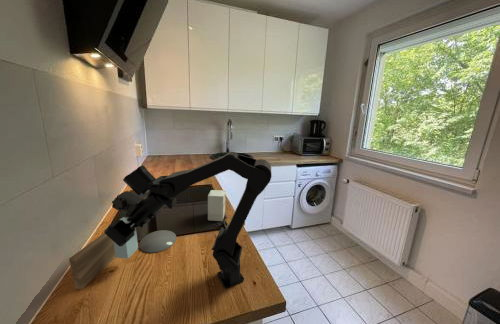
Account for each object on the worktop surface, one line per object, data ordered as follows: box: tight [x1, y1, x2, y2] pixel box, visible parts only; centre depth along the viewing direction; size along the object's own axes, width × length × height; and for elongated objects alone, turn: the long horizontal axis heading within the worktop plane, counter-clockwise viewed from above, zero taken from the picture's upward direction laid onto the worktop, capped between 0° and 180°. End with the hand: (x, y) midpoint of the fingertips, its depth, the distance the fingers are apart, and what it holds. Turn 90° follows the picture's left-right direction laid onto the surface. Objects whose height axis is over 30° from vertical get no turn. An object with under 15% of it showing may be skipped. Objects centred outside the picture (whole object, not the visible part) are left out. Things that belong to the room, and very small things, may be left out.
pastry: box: [223, 217, 246, 229], centre depth 91 cm, size 9×7×4 cm
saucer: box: [138, 229, 177, 254], centre depth 78 cm, size 13×13×1 cm
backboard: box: [68, 232, 117, 290], centre depth 65 cm, size 2×20×10 cm, turn 175°
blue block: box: [113, 216, 139, 260], centre depth 63 cm, size 4×5×11 cm
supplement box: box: [207, 189, 226, 222], centre depth 96 cm, size 7×7×13 cm
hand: (120, 234), depth 63 cm, fingers closed on blue block, 5 cm apart
